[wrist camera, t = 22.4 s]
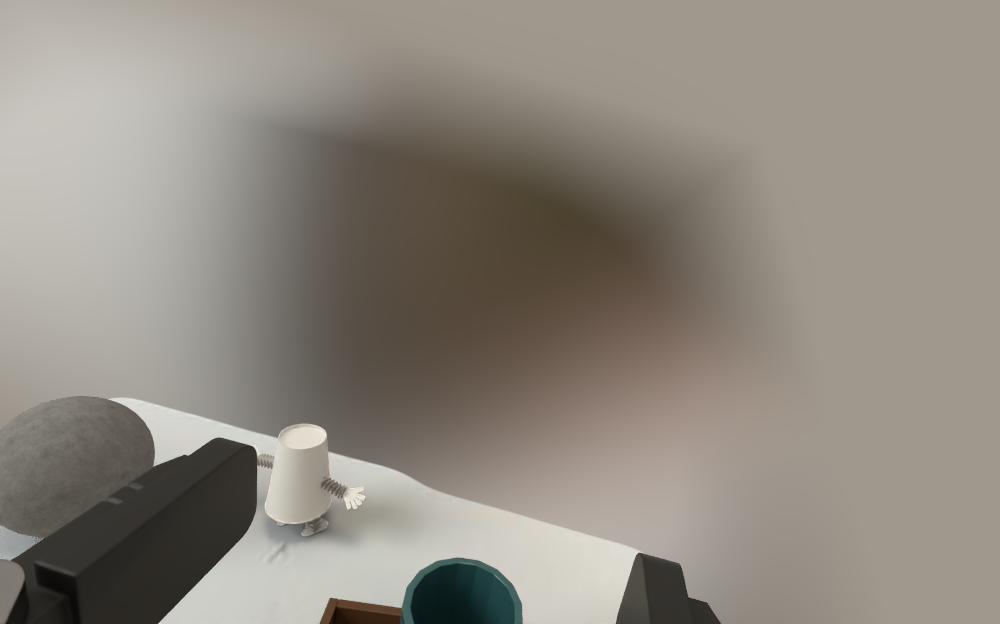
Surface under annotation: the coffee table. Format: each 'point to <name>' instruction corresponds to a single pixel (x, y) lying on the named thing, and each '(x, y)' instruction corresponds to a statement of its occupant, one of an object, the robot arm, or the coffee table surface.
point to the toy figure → (303, 479)
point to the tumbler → (460, 595)
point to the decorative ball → (68, 461)
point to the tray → (359, 613)
